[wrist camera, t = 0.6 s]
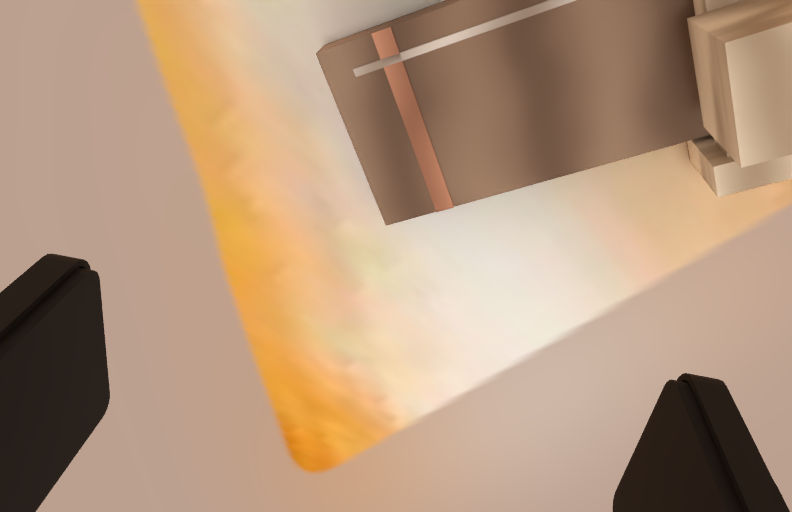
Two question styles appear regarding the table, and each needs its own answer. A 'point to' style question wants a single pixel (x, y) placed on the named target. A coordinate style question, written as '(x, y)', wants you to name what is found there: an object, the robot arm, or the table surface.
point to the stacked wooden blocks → (743, 92)
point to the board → (510, 94)
